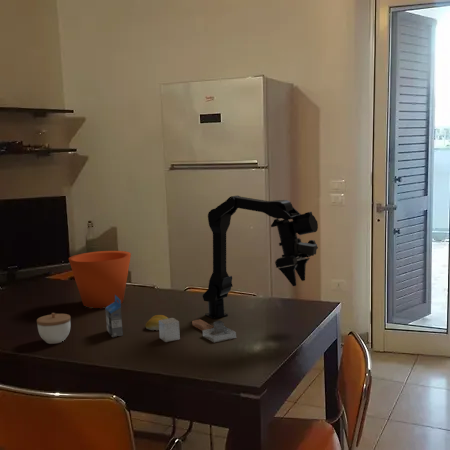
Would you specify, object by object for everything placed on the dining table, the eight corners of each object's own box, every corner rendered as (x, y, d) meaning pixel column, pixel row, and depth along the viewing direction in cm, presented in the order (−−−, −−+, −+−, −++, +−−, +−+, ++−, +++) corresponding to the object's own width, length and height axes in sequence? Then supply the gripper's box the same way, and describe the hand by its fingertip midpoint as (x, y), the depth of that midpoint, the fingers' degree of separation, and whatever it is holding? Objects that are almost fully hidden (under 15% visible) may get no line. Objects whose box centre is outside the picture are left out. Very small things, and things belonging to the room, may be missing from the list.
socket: (159, 338, 191) (158, 320, 190) (173, 335, 193) (172, 317, 193) (165, 342, 187) (164, 323, 186) (179, 339, 189) (178, 321, 188)
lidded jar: (54, 347, 186) (51, 319, 185) (31, 343, 192) (29, 315, 191) (79, 338, 195) (76, 310, 194) (56, 334, 201) (54, 307, 200)
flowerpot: (146, 299, 244) (143, 252, 242) (104, 314, 223) (100, 263, 221) (102, 293, 258) (99, 249, 255) (59, 307, 237) (55, 259, 235)
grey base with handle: (186, 326, 203) (185, 312, 202) (206, 322, 206) (206, 308, 206) (214, 342, 184) (213, 327, 184) (236, 338, 188) (235, 323, 187)
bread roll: (143, 331, 200) (142, 320, 200) (151, 323, 209) (150, 312, 208) (166, 331, 199) (165, 320, 198) (173, 323, 207) (172, 312, 207)
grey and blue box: (106, 330, 202) (103, 295, 201) (117, 329, 204) (115, 294, 202) (111, 337, 194) (109, 301, 192) (123, 335, 195) (121, 299, 194)
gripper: (302, 236, 183) (313, 284, 183) (319, 229, 199) (329, 274, 199) (269, 242, 188) (280, 290, 187) (289, 236, 204) (299, 279, 204)
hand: (299, 283), depth 194 cm, fingers open, 9 cm apart
